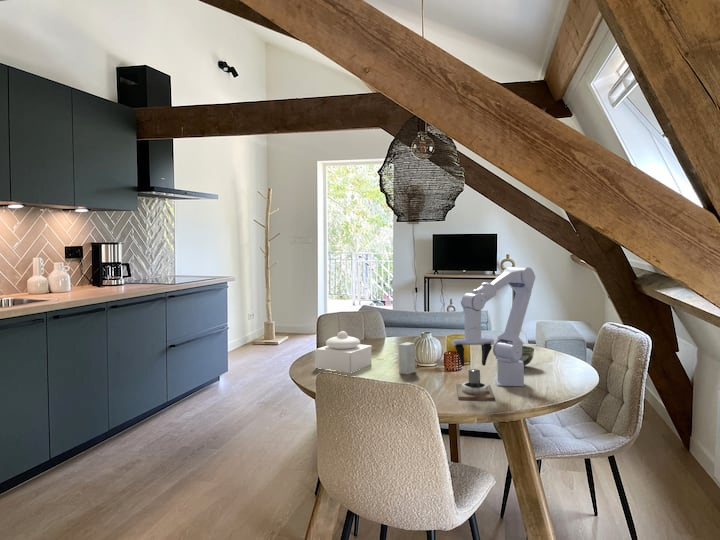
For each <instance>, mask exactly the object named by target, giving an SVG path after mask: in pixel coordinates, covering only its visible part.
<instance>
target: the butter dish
mask: <svg viewBox="0 0 720 540" xmlns="http://www.w3.org/2000/svg"><path fill="white" fill-rule="evenodd" d="M372 348H373V345H370V344H361V340H360V339H359V338H357V337H354V336H349V335H348V333H347V332H346V331H344V330H342V331H339V332H338V333H337V335H336V336H333V337H330V338H328V339H327V340H326V341H325V346H322V347H318V348H315V350H314V356H315V357H314V359H315V361H314V362H315V363H314V365H315V367H314V368H315V369H316V368H321V369H331V370H336V371H341V372H347V373H346V374H349V373H351V372H353V371H356V370H358V371H360V370H359V369H361V370H363V369H365V368H364V367H366V368H368V367H370V365H371V366H372ZM367 366H368V367H367ZM362 368H363V369H362ZM341 372H340V373H341ZM356 372H357V371H356ZM353 373H354V372H353ZM351 374H352V373H351Z"/></svg>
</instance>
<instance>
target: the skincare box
mask: <svg viewBox="0 0 720 540" xmlns="http://www.w3.org/2000/svg"><path fill="white" fill-rule="evenodd" d="M398 367H399V368H398V369H399V370H398V372H399V374H403V375H406V376H407V375H410V374H412V373H415V372H416V343H415V342H409V341H408V342H407V341H406V342H402V343H399V344H398Z"/></svg>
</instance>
